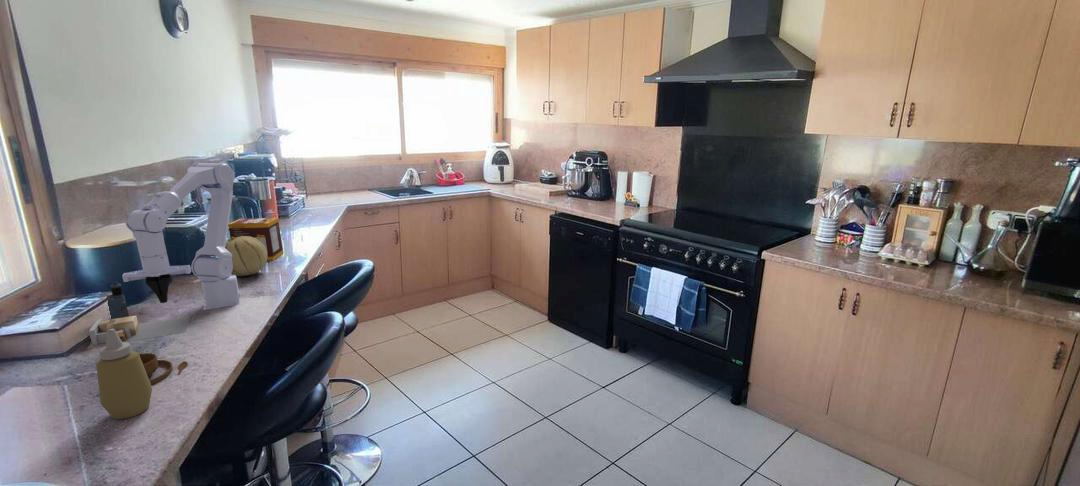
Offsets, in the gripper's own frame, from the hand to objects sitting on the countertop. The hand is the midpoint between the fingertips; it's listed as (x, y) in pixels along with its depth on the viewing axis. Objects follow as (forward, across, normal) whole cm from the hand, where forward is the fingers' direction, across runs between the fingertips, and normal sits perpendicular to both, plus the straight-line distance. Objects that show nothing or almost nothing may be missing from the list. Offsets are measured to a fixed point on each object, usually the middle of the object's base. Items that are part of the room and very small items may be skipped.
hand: (164, 301), depth 134 cm
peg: (+7, -10, 0) cm, 12 cm away
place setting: (+9, -2, -24) cm, 26 cm away
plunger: (+7, -10, -4) cm, 13 cm away
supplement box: (+9, +22, +65) cm, 70 cm away
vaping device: (+8, -13, +13) cm, 21 cm away
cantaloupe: (+9, +18, +42) cm, 47 cm away
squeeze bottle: (+8, -1, -44) cm, 44 cm away
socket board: (+8, -6, 0) cm, 10 cm away
